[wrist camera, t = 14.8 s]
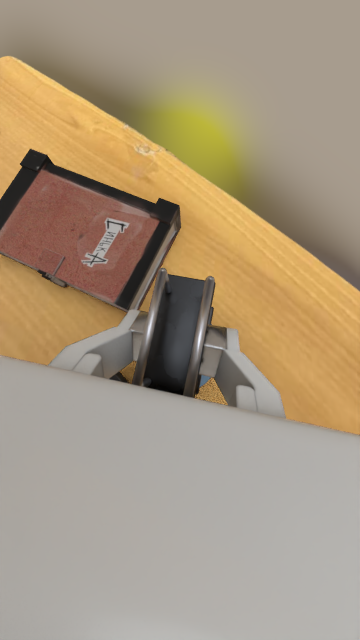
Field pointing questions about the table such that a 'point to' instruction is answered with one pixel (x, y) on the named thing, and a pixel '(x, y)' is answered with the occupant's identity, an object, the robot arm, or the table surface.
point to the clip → (175, 334)
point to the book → (85, 232)
